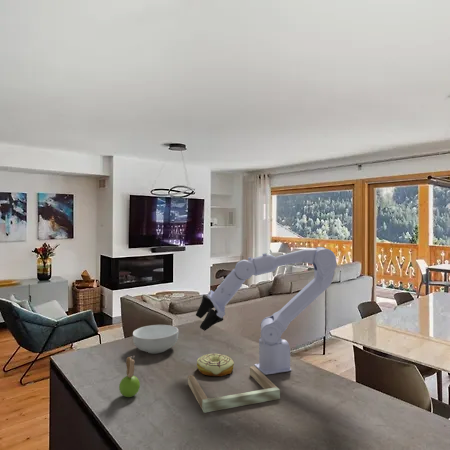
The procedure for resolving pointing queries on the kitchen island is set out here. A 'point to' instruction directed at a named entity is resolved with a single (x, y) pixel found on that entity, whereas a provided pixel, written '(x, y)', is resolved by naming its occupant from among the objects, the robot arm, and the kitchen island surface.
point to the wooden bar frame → (239, 399)
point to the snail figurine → (129, 380)
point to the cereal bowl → (155, 338)
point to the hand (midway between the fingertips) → (200, 322)
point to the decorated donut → (215, 364)
